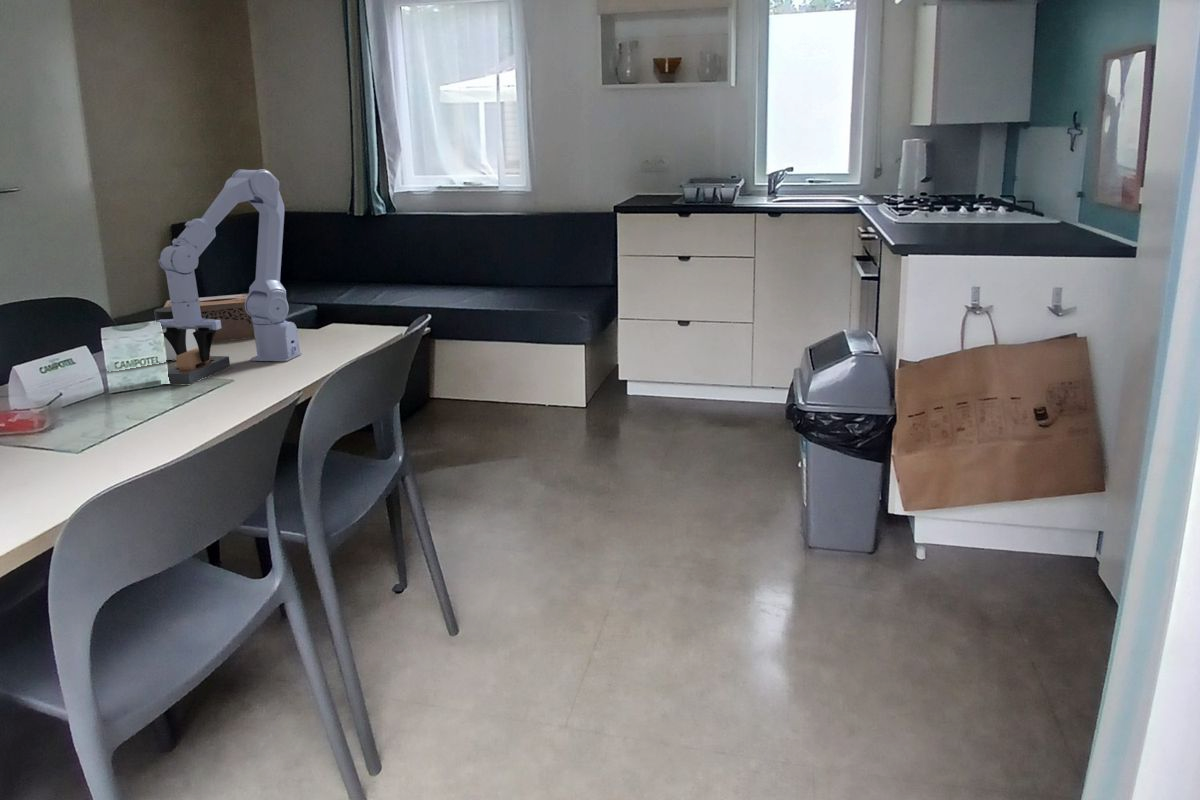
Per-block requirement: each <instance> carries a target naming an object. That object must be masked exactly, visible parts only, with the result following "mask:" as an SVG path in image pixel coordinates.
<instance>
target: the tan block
mask: <svg viewBox="0 0 1200 800" xmlns="http://www.w3.org/2000/svg"><path fill="white" fill-rule="evenodd" d="M210 356H211V355H210ZM210 356H209V360H208V361H205V362H201V359H200V354H199V348H195V349H192V350H190V351H187V352H185V353H182V354H180V355H177V356H176V360H175V361H176V366H178V367H179V370H193V369H196V364H199V363H201V364H207V363H210Z"/></svg>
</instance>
